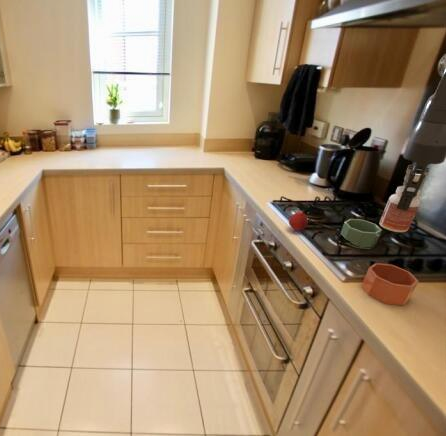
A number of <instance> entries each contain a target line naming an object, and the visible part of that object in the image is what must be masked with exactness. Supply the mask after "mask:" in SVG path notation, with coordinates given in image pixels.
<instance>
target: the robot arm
mask: <svg viewBox="0 0 446 436" xmlns="http://www.w3.org/2000/svg"><path fill="white" fill-rule="evenodd" d="M437 73H438V74H439V76H440V77H441V79H440V81H439V83H438V85H437V88H436V90H435V92H434V93H433V94H432V95H430V96H429V97H428V99H427V101H426V102H425V105H424V107H423V108H422V111H421V114H420V117H419V120H418V121H417V122H416V124H415V126H414V128H413V129H412V132H411V135H410V138H409V140H408V142H407V144H406V147H405V150H404V152H403V155H402V157H403V158H404V160H407V161H409V162H411V164H408V166H407V167H406V171H405V176H404V178H403V180H404V181H403V183H402V186H404V190H403V192H402V193H401V194H402V196H401V198H400V200H399V203H398V205H397V209H400V210H404V211H407V210H408V208H409V206H410V204H411V202H412V199H413V198H414V197H415V196H417V192H418V190H420V189H421V188H422V187H423V184H424V181H425V180H426V178H427V177H428V175H429V173H430V167H428V166H429V165H441V164H443V163H444V162H445V160H446V53H445V54H444V55H443V56H442V57H441V58H440V60H439V61H438V63H437ZM409 187H410V188H415V190H414V192H411V191H407V189H408V188H409Z"/></svg>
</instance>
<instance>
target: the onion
mask: <svg viewBox="0 0 446 436" xmlns="http://www.w3.org/2000/svg"><path fill="white" fill-rule="evenodd" d="M308 223H309V219H308V217H307V215H306V214H305V213H304V212H303V211H302V210H299V211H298V212H295V213H293V214H292V215H290V217H289V218H288V224H289V226H290V228H291V229H292V230H293V231H294V232H299V231H302V230H304V229H306V227H307V226H308Z"/></svg>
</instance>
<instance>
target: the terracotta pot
mask: <svg viewBox="0 0 446 436" xmlns="http://www.w3.org/2000/svg"><path fill="white" fill-rule="evenodd" d="M419 281H420V280H418V279H417V278H416V277H415V276H414V274H412V272H410V271H408V270H406V269H405V268H404V269H403V268H401V267H399V266H397V265H394V264H389V263H380V262H375V263H374V264H372V265H371V266H369V267H368V269H367V271H366V274H365V276H364V279H363V280H362V283H361V287H362V288H363V290H364V291H365V293H366V294H367V295H368V296H369V297H372V298H374V299H376V301H377V300H378V301H379V302H381V303H384V304H386V305H396V306H404V305H405V304H407V303H408V301H410V299H411V297H412V295H413V293H414V291H415V289H416V287H417V286H418V284H419Z"/></svg>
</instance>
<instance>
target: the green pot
mask: <svg viewBox="0 0 446 436" xmlns="http://www.w3.org/2000/svg"><path fill="white" fill-rule="evenodd" d="M382 231H383V229H382V228H380V226H378V225H377V224H376V223H373V222H371V221H368V220H365V219H359V218H349V219H346V221H345V220H344V223H343V224H342V228H341V231H340V234H341V235H342V236H343V237H344V238H345V239H346V240H348V241H350V242H351V243H352V244H354V245H356V246H360V247H356V246H354V245H351V244H349V243H344V244H345V245H348V246H350V247H352V248H355V249H360V250H361V249H363V250H371V249H373V248H374V247H376V245H377V242H378V241H379V238H380V236H381V234H382ZM340 234H339V235H340ZM375 244H376V245H375ZM373 245H374V246H373ZM372 246H373V247H372ZM364 247H371V248H364Z"/></svg>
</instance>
